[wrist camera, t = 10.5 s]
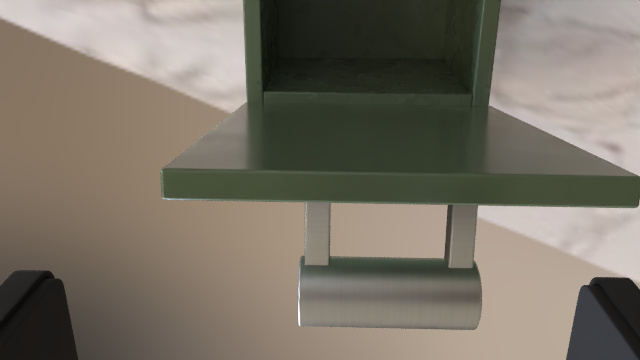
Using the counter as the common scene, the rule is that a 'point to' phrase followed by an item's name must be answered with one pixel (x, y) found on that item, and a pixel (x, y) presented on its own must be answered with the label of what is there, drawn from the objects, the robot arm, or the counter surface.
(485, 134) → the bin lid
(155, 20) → the counter surface
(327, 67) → the bin
